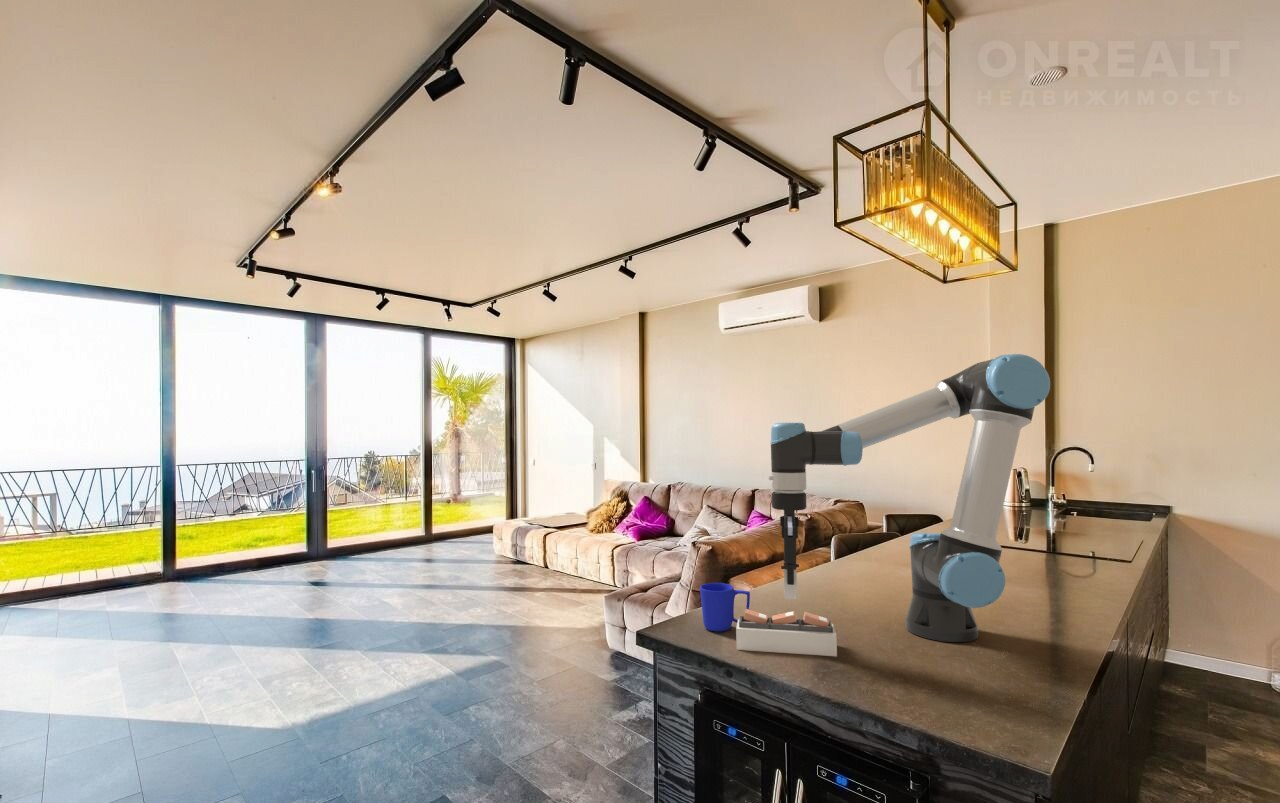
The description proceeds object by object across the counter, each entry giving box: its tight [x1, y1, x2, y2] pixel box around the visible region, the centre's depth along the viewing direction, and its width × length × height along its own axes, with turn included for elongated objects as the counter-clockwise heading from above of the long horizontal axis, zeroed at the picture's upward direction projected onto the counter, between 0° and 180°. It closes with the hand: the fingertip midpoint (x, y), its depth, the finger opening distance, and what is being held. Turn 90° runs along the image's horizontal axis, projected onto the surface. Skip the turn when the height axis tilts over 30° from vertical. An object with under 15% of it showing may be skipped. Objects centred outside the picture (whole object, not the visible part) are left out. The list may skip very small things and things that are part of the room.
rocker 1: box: [743, 608, 768, 624], centre depth 129 cm, size 5×3×2 cm, turn 76°
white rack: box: [735, 615, 838, 657], centre depth 127 cm, size 21×7×6 cm, turn 77°
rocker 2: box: [771, 610, 797, 625], centre depth 128 cm, size 5×3×2 cm, turn 78°
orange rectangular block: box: [802, 611, 829, 627], centre depth 126 cm, size 5×3×2 cm, turn 76°
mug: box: [699, 582, 751, 633], centre depth 140 cm, size 8×12×10 cm
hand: (790, 598), depth 127 cm, fingers closed
